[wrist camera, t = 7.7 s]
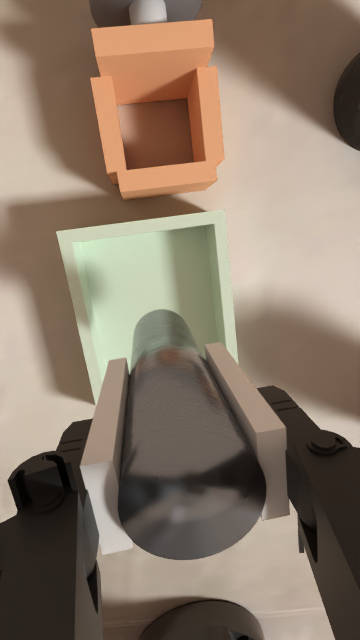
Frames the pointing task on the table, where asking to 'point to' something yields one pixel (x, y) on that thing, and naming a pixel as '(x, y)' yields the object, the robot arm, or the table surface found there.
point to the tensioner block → (156, 87)
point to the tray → (148, 283)
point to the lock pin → (183, 450)
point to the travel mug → (349, 104)
